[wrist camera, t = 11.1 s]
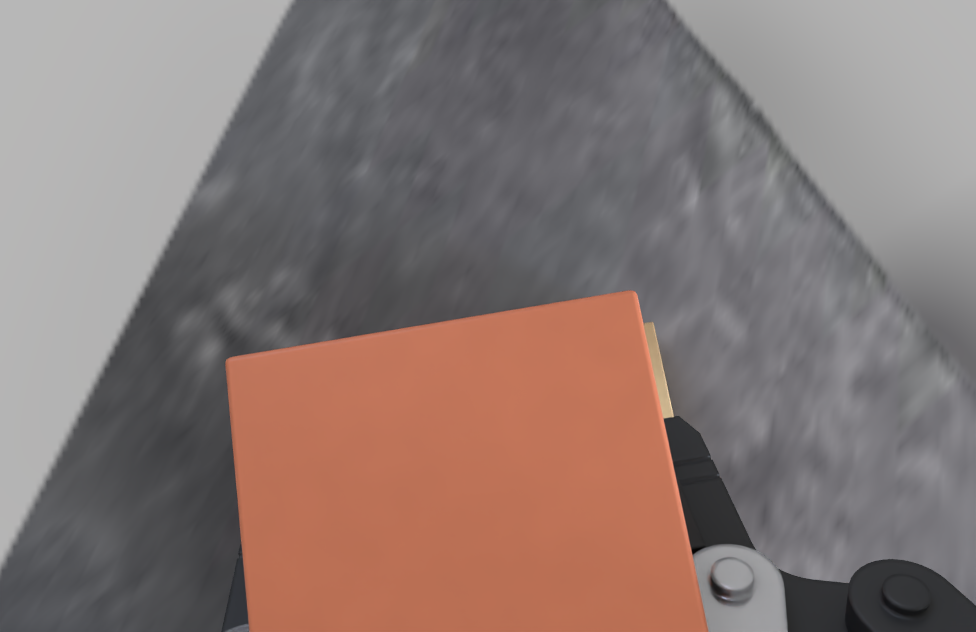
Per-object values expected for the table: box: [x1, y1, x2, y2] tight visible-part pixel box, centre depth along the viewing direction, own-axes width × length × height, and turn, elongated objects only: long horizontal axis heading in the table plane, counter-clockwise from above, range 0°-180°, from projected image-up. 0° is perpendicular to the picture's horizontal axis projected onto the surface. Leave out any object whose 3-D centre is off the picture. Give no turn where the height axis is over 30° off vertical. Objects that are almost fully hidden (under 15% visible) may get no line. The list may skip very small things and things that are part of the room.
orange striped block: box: [225, 290, 709, 632], centre depth 13 cm, size 5×6×10 cm
